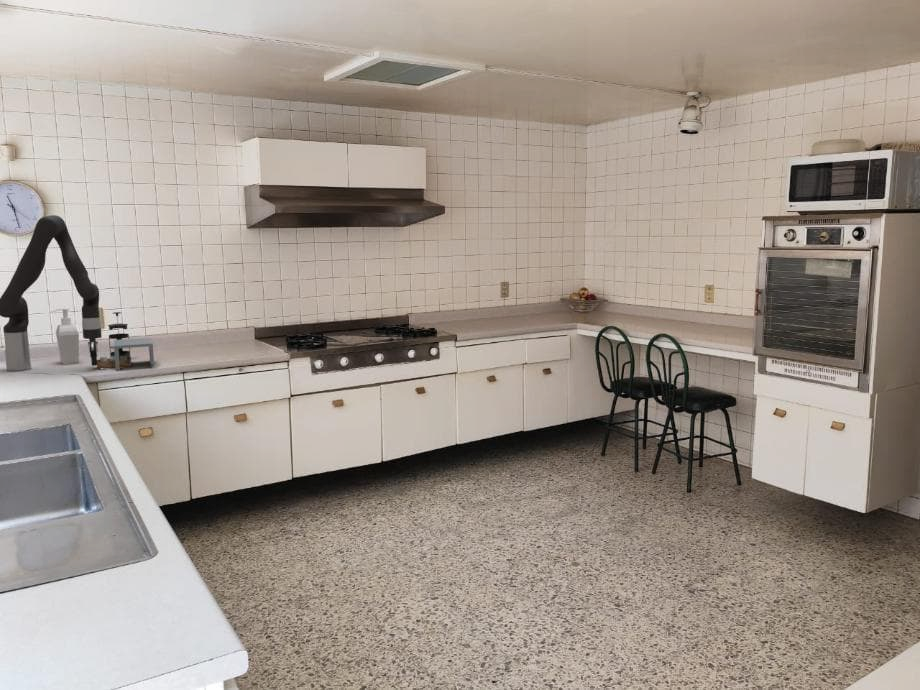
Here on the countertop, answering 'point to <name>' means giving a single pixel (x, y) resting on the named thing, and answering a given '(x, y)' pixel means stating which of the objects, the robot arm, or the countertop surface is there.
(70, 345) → the soap bottle
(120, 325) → the french press
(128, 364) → the tray
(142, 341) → the grey small table
